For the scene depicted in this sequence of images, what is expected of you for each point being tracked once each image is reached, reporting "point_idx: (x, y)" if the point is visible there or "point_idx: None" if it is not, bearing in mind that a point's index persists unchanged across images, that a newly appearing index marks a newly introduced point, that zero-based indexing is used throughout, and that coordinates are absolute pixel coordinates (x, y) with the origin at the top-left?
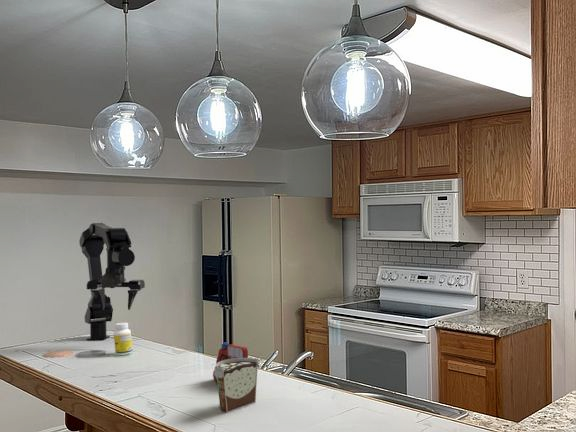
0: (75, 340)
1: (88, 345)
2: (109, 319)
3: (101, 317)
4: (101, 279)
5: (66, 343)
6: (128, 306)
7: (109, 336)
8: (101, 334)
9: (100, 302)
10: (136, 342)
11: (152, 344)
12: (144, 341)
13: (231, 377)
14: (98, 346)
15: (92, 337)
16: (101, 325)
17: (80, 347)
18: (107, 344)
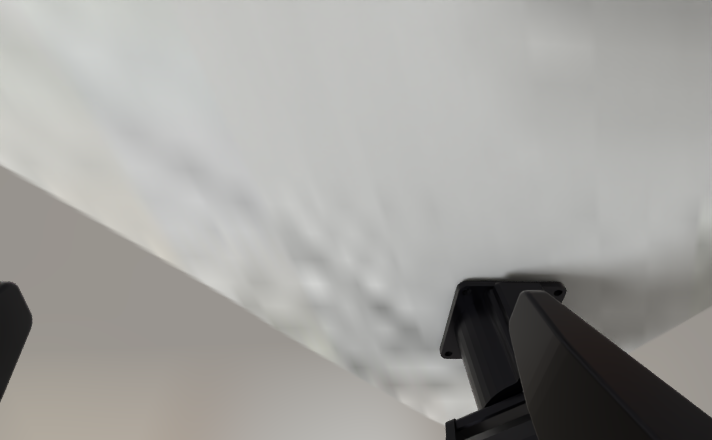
0: (628, 283)
1: (537, 143)
2: (462, 433)
3: (522, 416)
4: None
5: (687, 210)
6: None
7: (441, 347)
8: (483, 318)
9: (653, 396)
10: (213, 222)
11: (45, 153)
12: (171, 248)
13: None
14: (456, 104)
15: (533, 287)
16: (502, 368)
17: (593, 75)
18: (404, 169)
